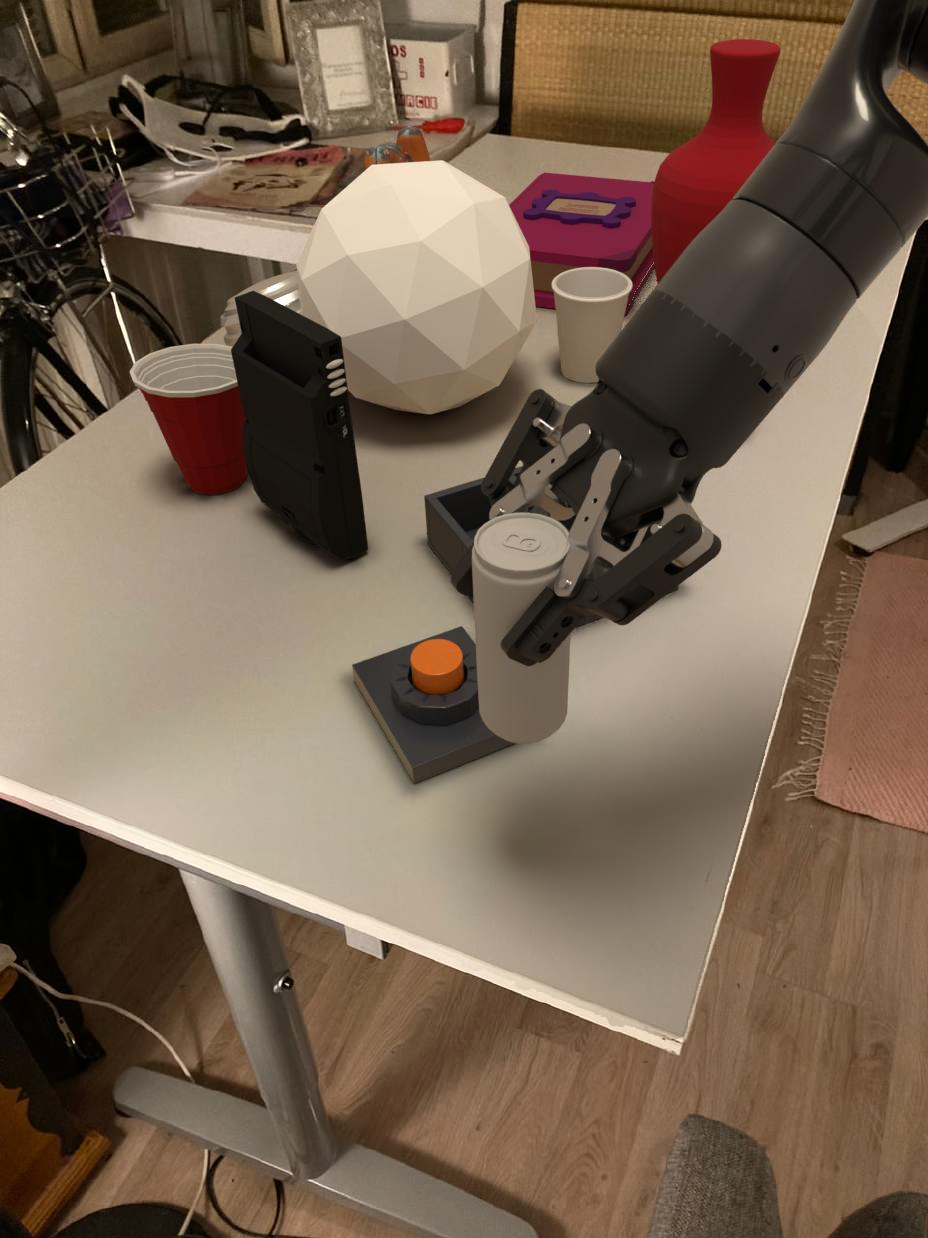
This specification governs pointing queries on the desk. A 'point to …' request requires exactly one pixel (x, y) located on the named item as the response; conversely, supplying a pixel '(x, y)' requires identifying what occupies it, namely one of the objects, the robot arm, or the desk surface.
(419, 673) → the button
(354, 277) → the lamp
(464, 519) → the divided tray
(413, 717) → the panel
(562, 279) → the dixie cup
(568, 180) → the book
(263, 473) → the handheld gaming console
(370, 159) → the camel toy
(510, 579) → the beverage can
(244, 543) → the desk surface
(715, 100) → the vase
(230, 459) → the plastic cup
